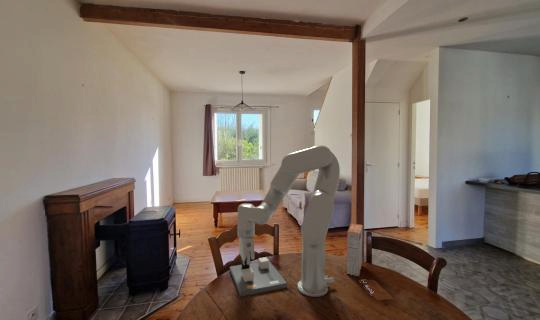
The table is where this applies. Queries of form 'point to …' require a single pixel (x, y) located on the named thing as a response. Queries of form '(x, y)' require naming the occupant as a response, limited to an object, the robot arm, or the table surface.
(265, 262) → the tab
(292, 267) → the table surface
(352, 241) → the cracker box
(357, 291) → the table surface
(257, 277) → the switch panel
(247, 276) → the tab
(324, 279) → the robot arm
